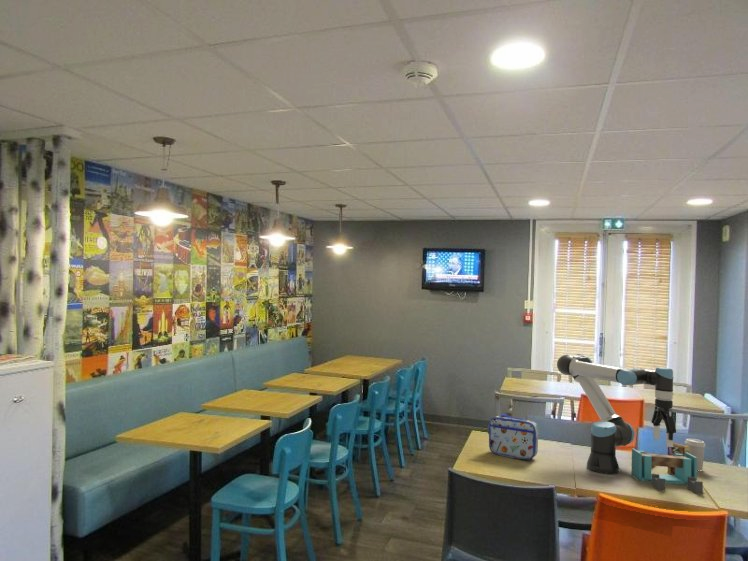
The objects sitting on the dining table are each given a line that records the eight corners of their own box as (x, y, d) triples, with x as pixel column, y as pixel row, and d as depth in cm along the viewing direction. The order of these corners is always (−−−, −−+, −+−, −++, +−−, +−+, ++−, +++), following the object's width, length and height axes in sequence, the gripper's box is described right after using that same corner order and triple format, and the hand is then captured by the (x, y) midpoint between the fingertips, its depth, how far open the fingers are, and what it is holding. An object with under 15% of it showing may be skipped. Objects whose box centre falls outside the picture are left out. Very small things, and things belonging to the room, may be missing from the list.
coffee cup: (709, 473, 255) (709, 443, 255) (688, 471, 256) (688, 442, 257) (700, 467, 264) (700, 439, 265) (681, 465, 266) (681, 437, 267)
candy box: (689, 477, 247) (689, 446, 248) (684, 477, 245) (684, 446, 246) (672, 471, 255) (672, 441, 256) (667, 472, 253) (667, 442, 254)
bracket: (639, 480, 237) (639, 453, 238) (631, 474, 246) (631, 448, 247) (696, 485, 234) (696, 457, 235) (686, 478, 243) (686, 452, 244)
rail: (641, 464, 240) (641, 455, 240) (637, 462, 244) (638, 453, 245) (689, 468, 237) (689, 459, 238) (685, 465, 242) (685, 456, 242)
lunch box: (484, 453, 273) (485, 413, 274) (490, 449, 282) (491, 410, 283) (534, 463, 258) (535, 421, 260) (539, 458, 267) (540, 417, 268)
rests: (658, 490, 225) (658, 478, 225) (651, 485, 232) (651, 473, 232) (702, 493, 223) (702, 482, 223) (694, 488, 230) (694, 477, 230)
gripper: (684, 404, 230) (684, 450, 229) (660, 395, 255) (659, 436, 254) (667, 403, 231) (666, 449, 230) (644, 394, 256) (643, 435, 255)
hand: (662, 442), depth 242 cm, fingers open, 13 cm apart
